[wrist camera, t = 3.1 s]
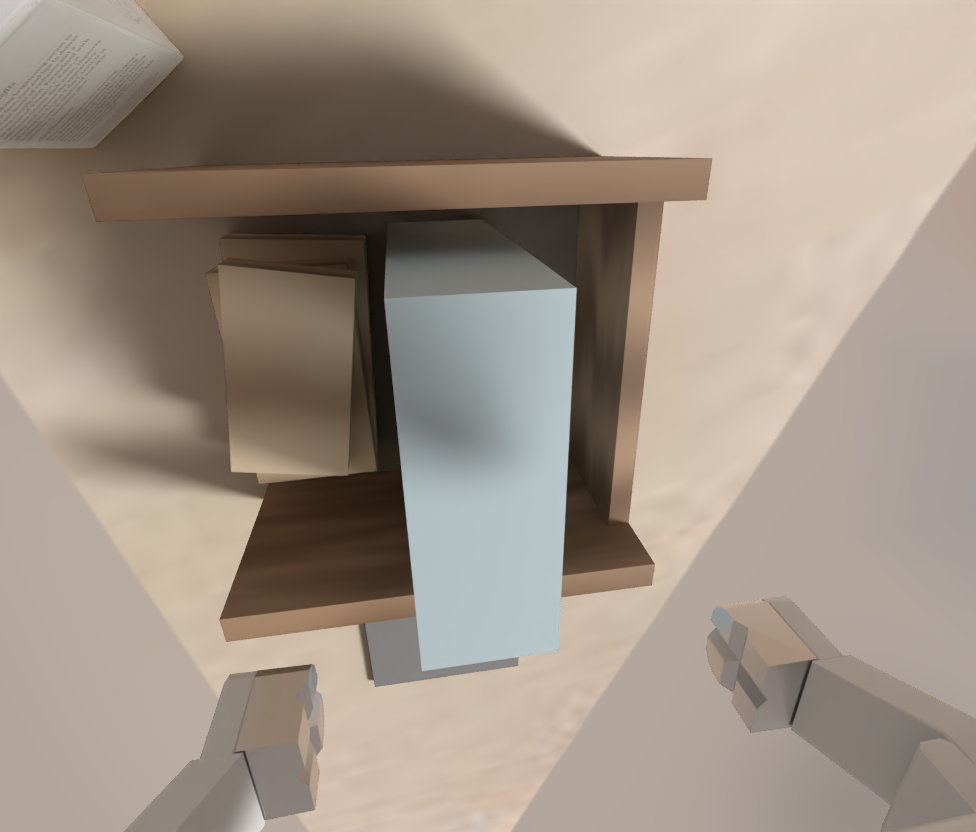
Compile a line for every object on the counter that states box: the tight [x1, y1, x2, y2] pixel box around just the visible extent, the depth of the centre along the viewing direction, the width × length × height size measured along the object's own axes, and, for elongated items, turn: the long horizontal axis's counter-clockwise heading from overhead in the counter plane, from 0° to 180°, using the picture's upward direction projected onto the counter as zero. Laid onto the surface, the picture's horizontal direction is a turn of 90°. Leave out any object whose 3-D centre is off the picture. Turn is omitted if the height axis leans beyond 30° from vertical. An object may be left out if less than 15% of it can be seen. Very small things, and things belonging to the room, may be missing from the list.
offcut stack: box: [205, 234, 378, 484], centre depth 26 cm, size 11×6×5 cm, turn 178°
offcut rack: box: [81, 156, 712, 642], centre depth 24 cm, size 17×18×10 cm
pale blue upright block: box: [384, 219, 577, 671], centre depth 22 cm, size 12×4×15 cm, turn 1°
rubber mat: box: [365, 617, 518, 687], centre depth 36 cm, size 14×10×1 cm
